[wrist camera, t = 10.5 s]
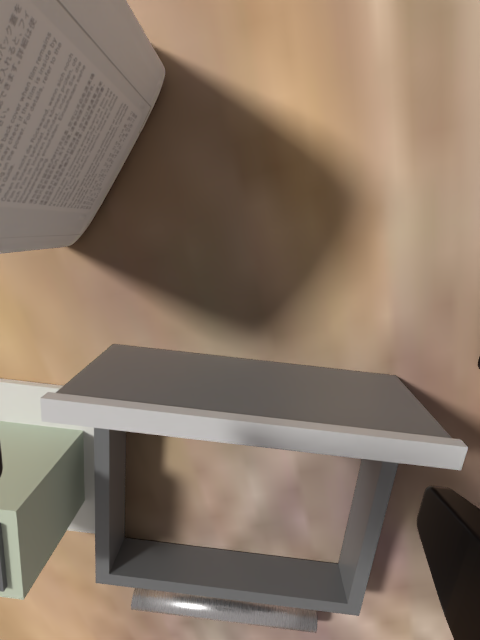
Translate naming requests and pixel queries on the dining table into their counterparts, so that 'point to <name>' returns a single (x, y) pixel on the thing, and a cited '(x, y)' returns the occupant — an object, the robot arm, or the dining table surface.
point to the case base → (231, 566)
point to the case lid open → (254, 406)
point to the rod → (224, 610)
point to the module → (36, 498)
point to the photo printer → (67, 113)
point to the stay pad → (24, 407)
